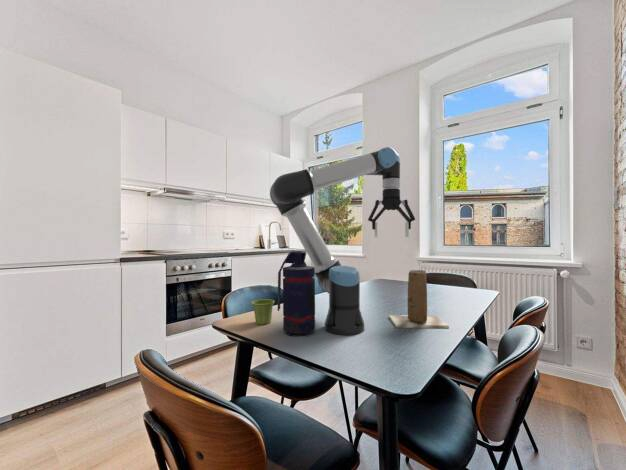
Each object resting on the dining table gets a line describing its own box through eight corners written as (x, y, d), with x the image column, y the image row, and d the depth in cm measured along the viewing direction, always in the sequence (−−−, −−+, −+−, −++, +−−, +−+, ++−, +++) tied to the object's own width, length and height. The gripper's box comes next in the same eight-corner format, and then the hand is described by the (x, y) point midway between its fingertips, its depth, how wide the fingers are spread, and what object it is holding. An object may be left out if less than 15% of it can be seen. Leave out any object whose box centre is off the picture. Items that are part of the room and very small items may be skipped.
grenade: (315, 326, 119) (315, 250, 119) (314, 337, 107) (314, 252, 107) (280, 326, 120) (279, 250, 119) (275, 337, 108) (275, 252, 107)
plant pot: (247, 324, 123) (246, 303, 123) (259, 318, 131) (259, 298, 131) (267, 327, 119) (267, 305, 119) (278, 320, 128) (278, 300, 128)
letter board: (396, 327, 117) (396, 324, 117) (388, 317, 131) (388, 314, 131) (448, 328, 116) (448, 325, 116) (436, 317, 130) (436, 315, 130)
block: (427, 324, 118) (427, 272, 118) (407, 322, 120) (407, 272, 120) (426, 316, 128) (426, 269, 128) (408, 315, 130) (407, 268, 130)
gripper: (363, 188, 132) (364, 237, 132) (422, 187, 130) (422, 236, 131) (361, 190, 139) (362, 236, 139) (417, 189, 138) (417, 236, 138)
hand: (391, 237), depth 135 cm, fingers open, 13 cm apart
